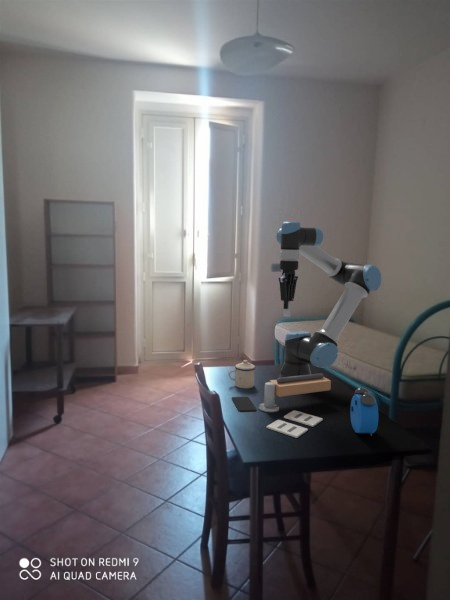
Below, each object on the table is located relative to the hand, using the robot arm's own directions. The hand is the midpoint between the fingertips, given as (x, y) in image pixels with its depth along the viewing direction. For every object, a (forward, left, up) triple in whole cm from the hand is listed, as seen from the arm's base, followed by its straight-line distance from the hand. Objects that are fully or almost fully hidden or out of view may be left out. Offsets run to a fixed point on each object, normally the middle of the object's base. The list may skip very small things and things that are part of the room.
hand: (286, 316), depth 187 cm
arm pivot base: (+18, +4, -34) cm, 39 cm away
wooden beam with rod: (+7, +10, -33) cm, 35 cm away
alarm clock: (+14, +40, -34) cm, 55 cm away
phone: (+21, -6, -35) cm, 41 cm away
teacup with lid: (+3, -20, -34) cm, 40 cm away
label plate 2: (+18, +19, -34) cm, 43 cm away
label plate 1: (+30, +19, -34) cm, 49 cm away
